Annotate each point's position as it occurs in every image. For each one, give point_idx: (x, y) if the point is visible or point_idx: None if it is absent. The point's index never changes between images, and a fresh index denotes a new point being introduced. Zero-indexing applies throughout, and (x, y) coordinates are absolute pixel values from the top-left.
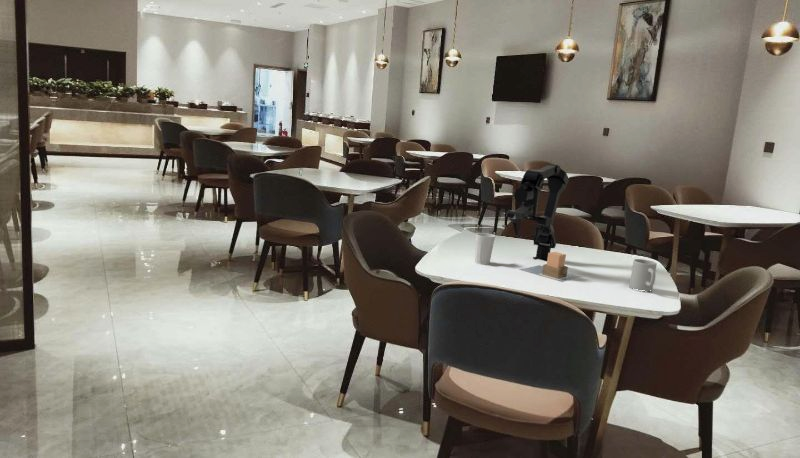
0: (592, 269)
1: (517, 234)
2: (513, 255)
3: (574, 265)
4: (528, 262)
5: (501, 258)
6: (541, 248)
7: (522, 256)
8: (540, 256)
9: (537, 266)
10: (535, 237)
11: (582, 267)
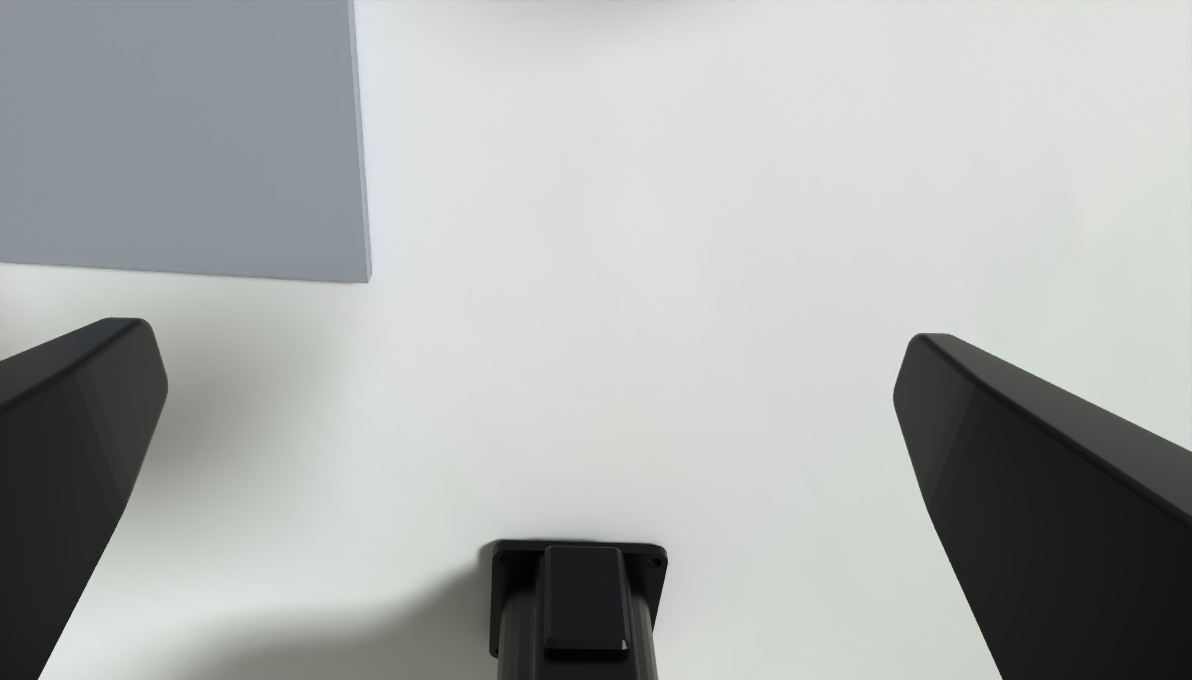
0: (41, 675)
1: (907, 389)
2: (894, 481)
3: (238, 659)
4: (598, 346)
5: (977, 197)
6: (569, 674)
7: (793, 528)
8: (558, 572)
9: (325, 180)
10: (78, 347)
11: (142, 660)
